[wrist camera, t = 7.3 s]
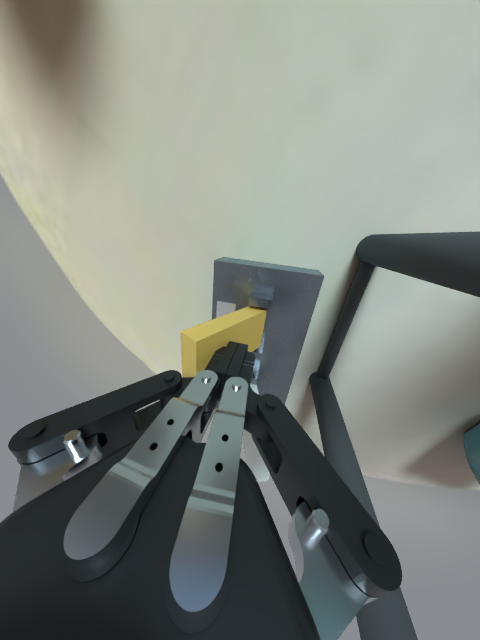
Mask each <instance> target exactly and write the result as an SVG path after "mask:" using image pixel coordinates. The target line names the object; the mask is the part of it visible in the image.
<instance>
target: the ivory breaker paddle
mask: <svg viewBox="0 0 480 640" xmlns="http://www.w3.org/2000/svg"><path fill="white" fill-rule="evenodd" d="M250 387H251V388H252V390H253V391H254V392H255V393H257V394H259V392H258V388H257V385H255V384H250ZM243 441H244V448H245V454H246V461H247V465H248V466H249V468H250V469H251V471H252V472H253V474H254V476H255V478H256V480H257V482H263V481H268V479H269V476H270V473H269V471H268V469H267V467H266V465H265V463H264V461H263V459H262V457H261V455H260V453H259V451H258V449H257V447H256V445H255V443H254V441H253V439H252V436H251V434H250V433H249V432H248V431H246V430H245V429H243Z"/></svg>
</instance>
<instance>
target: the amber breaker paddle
mask: <svg viewBox="0 0 480 640" xmlns="http://www.w3.org/2000/svg"><path fill="white" fill-rule="evenodd" d="M266 313H267V310H266V309H263V308H260V307H256V306H248V307H245V308H243V309H240V310H237V311H235V312H232V313H229V314H226V315H224V316H221V317H218V318H216V319H213V320H210V321H207V322H205V323H202V324H199V325H196V326H194V327H191V328H188V329H186V330H183V331H180V332H181V353H182V375H183V377H195V376H196V374H197V373H199V372H200V371H203V370H205V368H206V366H207V365H208V363H209V361H210V359H211V358H212V356H213V354H214V353H215V351H216V350H218V349H220V348H222V347H223V346H225V347H226V346H227V344H228V342H229V341H233V342H237V343H242V344H247V345H248V351H249V352H253V351H254V350H256V349H257V348H259V347H260V345H261V340H262V335H263V329H264V324H265V318H266Z"/></svg>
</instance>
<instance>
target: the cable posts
mask: <svg viewBox="0 0 480 640" xmlns="http://www.w3.org/2000/svg"><path fill="white" fill-rule="evenodd" d="M356 255H357V257H358V259H359V260H360V261H361V263H360V266H359V268H358V271H357V273H356V276H355V279H354V281H353V284H352V286H351V289H350V292H349V294H348V297H347V299H346V302H345V305H344V307H343V310H342V312H341V315H340V318H339V320H338V323H337V325H336V328H335V331H334V333H333V336H332V338H331V341H330V344H329V346H328V349H327V351H326V354H325V357H324V359H323V362H322V364H321V367H320V370H319V372H315V373H313V374H312V375H311V376H310V384H311V389H312V394H313V399H314V404H315V409H316V414H317V419H318V424H319V429H320V434H321V440H322V445H323V450H324V455H325V458H326V459H327V461H328V462H329V463H330V465H331V466H332V467H333V468H334V470H335V471H336V472H337V474H338V475H339V476H340V477H341V479H342V480H343V481H344V483H345V484H346V485H347V486H348V488H349V489H350V490H351V492H352V493H353V494H354V495H355V497H356V498H357V499H358V501H359V502H360V503H361V504H362V506H363V507H364V508H365V510H366V511H367V512H368V513H369V515H370V516H371V517H372V519H373V520H374V521H375V522H376V524H377V525H378V526H379V523H378V520H377V517H376V515H375V512H374V509H373V506H372V503H371V500H370V497H369V494H368V491H367V488H366V485H365V482H364V479H363V476H362V473H361V470H360V467H359V464H358V461H357V458H356V455H355V452H354V450H353V447H352V444H351V441H350V438H349V435H348V432H347V429H346V426H345V423H344V420H343V417H342V414H341V411H340V408H339V405H338V402H337V399H336V396H335V393H334V390H333V387H332V385H331V382H330V379H329V374H330V372H331V370H332V367H333V365H334V362H335V360H336V358H337V355H338V353H339V351H340V348H341V346H342V343H343V341H344V339H345V336H346V334H347V332H348V329H349V327H350V325H351V322H352V320H353V317H354V315H355V313H356V310H357V308H358V306H359V303H360V301H361V298H362V296H363V294H364V291H365V289H366V287H367V284H368V282H369V280H370V277H371V275H372V272H373V270H374V268H375V266H378V267H382V268H385V269H388V270H392V271H395V272H398V273H401V274H405V275H408V276H411V277H415V278H418V279H421V280H425V281H428V282H431V283H434V284H438V285H441V286H444V287H448V288H451V289H454V290H458V291H461V292H464V293H467V294H471V295H474V296H477V297H480V232H450V233H415V234H379V235H370V236H367V237H365V238H364V239H363V240H362V241H361V242H360V243H359V244H358V246H357V249H356ZM379 528H380V527H379ZM356 617H357V622H358V627H359V632H360V637H361V640H418V639H417V636H416V633H415V630H414V627H413V624H412V621H411V618H410V615H409V612H408V609H407V606H406V603H405V600H404V597H403V594H402V591H401V589H400V586H399V588H398V589H396V590H395V591H393V592H391V593H389V594H387V595H385V596H383V597H380V598H378V599H376V600H374V601H372V602H370V603H368V604H366V605H364V606H362V607H361V609H360V610H359V611H358V613H357V614H356Z"/></svg>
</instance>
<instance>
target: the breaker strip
mask: <svg viewBox="0 0 480 640" xmlns="http://www.w3.org/2000/svg"><path fill="white" fill-rule="evenodd" d="M323 278H324V275H323V274H322V273H321V272H319V271H318V270H312V269H305V268H298V267H291V266H284V265H276V264H269V263H262V262H255V261H247V260H240V259H233V258H226V257H223V258H220V259H217V260H214V282H213V307H212V320H213V319H216V318H218V317H221V316H224V315H226V314H229V313H232V312H235V311H237V310H240V309H243V308H245V307H248V306H256V307H260V308H263V309H266V310H267V313H266V318H265V324H264V329H263V335H262V340H261V345H260V347H259V348H257V349H256V350H254V351H253V353H254V355H255V363H254V369H253V374H252V379H251V383H250V384H255V385H257V388H258V392H259V395H260V396H262V395H264V394H272V395H275V396H276V397H278V398H279V399H280V400H281V401H282V403H283V404H284V405H285V402H286V398H287V395H288V392H289V389H290V385H291V382H292V379H293V376H294V372H295V369H296V366H297V363H298V359H299V356H300V353H301V350H302V347H303V343H304V340H305V337H306V334H307V330H308V327H309V324H310V321H311V317H312V314H313V311H314V308H315V304H316V301H317V298H318V295H319V291H320V288H321V285H322V282H323ZM219 404H220V400H219V401H218V403H217V406H216V408H219Z"/></svg>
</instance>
